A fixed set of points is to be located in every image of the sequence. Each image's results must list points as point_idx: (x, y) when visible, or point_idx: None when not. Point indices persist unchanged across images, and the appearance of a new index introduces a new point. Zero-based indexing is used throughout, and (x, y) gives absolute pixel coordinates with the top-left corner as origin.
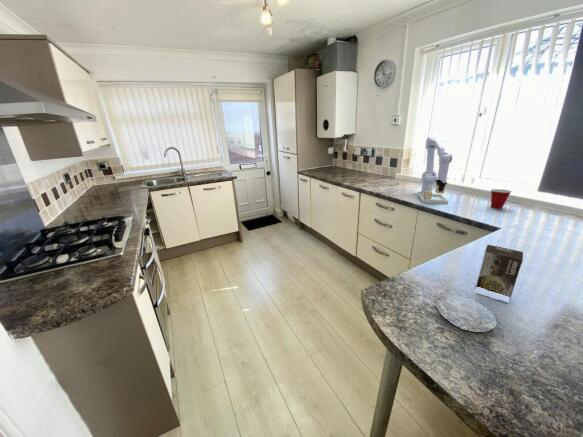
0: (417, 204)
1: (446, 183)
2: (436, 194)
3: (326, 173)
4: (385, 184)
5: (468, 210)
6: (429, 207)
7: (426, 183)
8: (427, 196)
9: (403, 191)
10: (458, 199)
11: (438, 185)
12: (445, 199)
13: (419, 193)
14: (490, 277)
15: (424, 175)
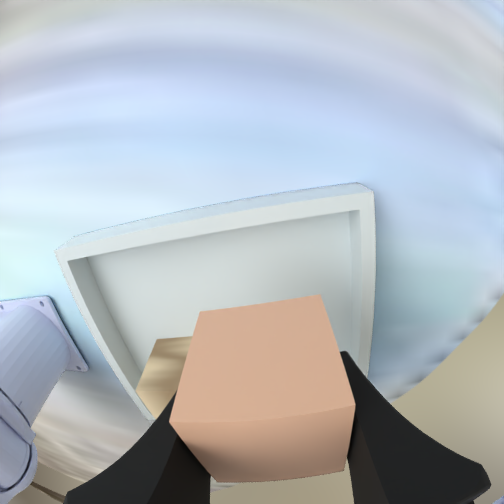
0: (397, 395)
1: (478, 472)
2: (84, 295)
3: (55, 493)
4: (33, 441)
5: (494, 60)
6: (463, 332)
7: (27, 426)
8: None
9: (86, 430)
10: (96, 55)
11: (244, 473)
12: (303, 216)
13: (149, 415)
14: None
15: (12, 496)
